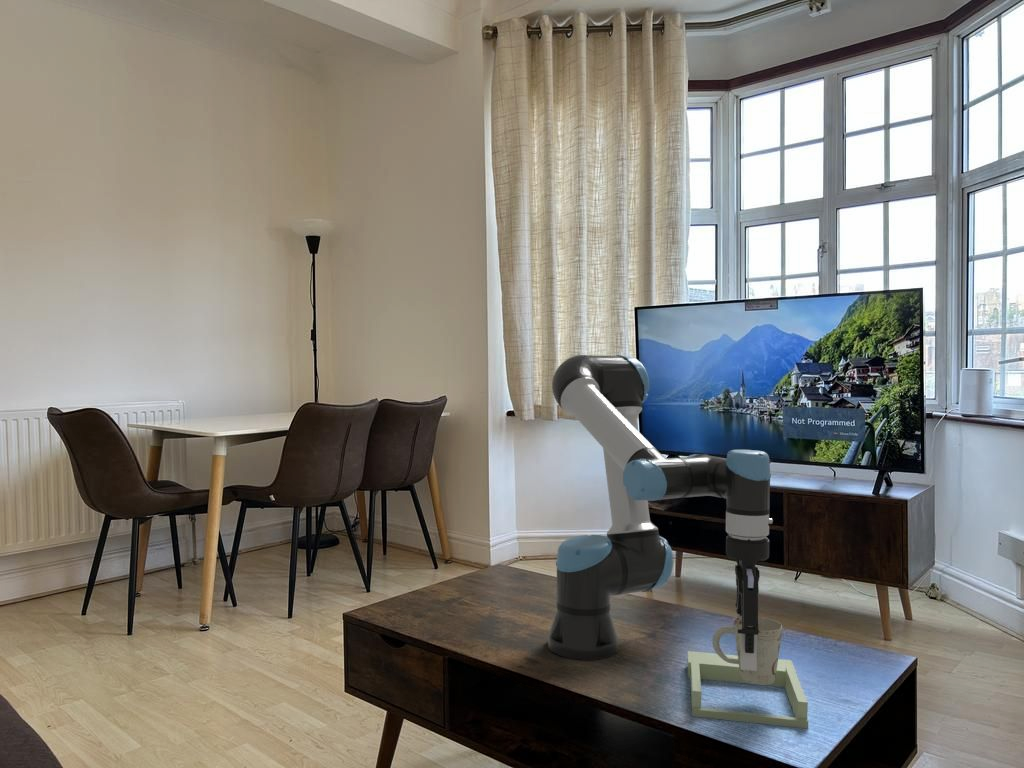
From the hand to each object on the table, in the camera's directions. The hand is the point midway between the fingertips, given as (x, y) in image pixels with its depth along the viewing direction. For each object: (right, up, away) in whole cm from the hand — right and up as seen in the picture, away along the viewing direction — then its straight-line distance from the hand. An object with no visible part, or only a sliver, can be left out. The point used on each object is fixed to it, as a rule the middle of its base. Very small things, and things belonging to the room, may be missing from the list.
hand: (746, 659), depth 135 cm
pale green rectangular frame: (0, -8, +3) cm, 8 cm away
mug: (0, -3, +1) cm, 3 cm away
